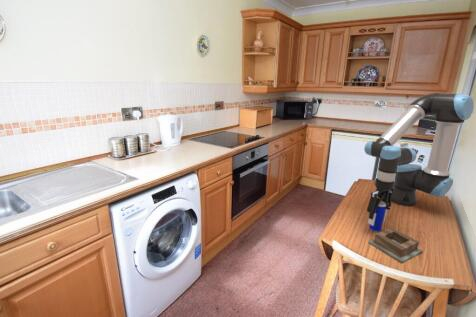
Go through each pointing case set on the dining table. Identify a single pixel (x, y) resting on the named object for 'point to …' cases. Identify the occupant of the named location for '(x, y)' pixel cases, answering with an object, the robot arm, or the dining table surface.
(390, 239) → the socket block
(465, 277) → the dining table surface
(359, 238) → the dining table surface
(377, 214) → the beverage can
